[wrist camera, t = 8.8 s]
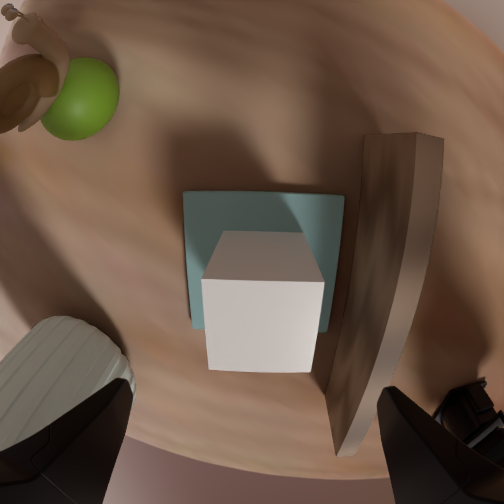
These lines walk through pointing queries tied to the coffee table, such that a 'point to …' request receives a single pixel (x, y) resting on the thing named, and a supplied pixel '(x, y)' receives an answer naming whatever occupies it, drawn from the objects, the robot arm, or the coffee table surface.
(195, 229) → the teal mat
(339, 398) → the walnut screen
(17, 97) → the snail figurine
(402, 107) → the coffee table surface
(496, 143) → the coffee table surface
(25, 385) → the vase
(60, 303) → the coffee table surface
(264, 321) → the white rectangular block
